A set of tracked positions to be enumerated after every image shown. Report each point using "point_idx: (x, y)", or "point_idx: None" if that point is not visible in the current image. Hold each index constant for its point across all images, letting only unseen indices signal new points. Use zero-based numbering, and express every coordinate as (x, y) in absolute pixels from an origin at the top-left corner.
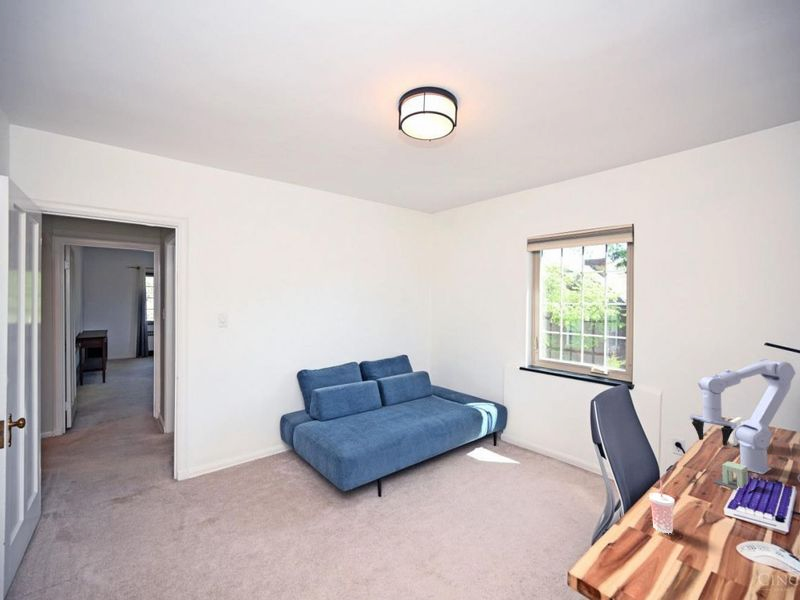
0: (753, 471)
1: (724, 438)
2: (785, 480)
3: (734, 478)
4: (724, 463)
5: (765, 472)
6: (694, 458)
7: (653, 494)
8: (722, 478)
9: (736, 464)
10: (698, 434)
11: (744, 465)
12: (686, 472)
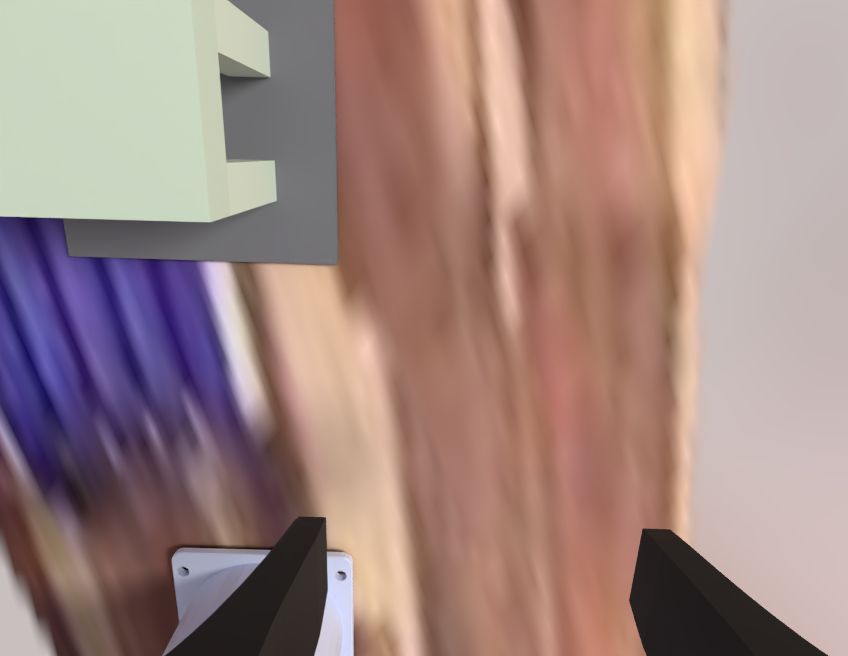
0: (232, 550)
1: (247, 603)
2: (47, 554)
3: (252, 257)
4: (189, 58)
5: (178, 597)
6: (650, 515)
7: None
8: (314, 159)
9: (89, 166)
10: (727, 587)
11: (20, 213)
12: (605, 49)
